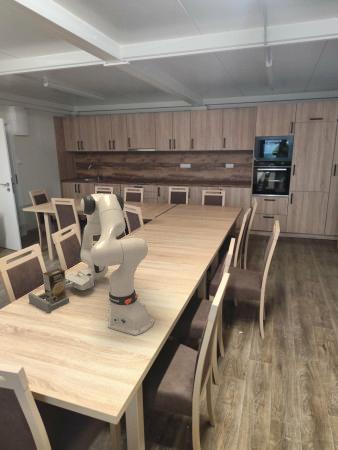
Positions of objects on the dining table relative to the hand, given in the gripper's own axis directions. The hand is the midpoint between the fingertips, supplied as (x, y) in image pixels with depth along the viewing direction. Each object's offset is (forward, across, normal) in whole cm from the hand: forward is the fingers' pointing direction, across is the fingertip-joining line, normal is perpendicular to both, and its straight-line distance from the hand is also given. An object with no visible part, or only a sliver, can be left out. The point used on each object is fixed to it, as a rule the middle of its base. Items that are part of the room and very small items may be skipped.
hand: (62, 286), depth 159 cm
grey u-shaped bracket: (+9, 0, +6) cm, 10 cm away
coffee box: (+4, 0, +6) cm, 8 cm away
